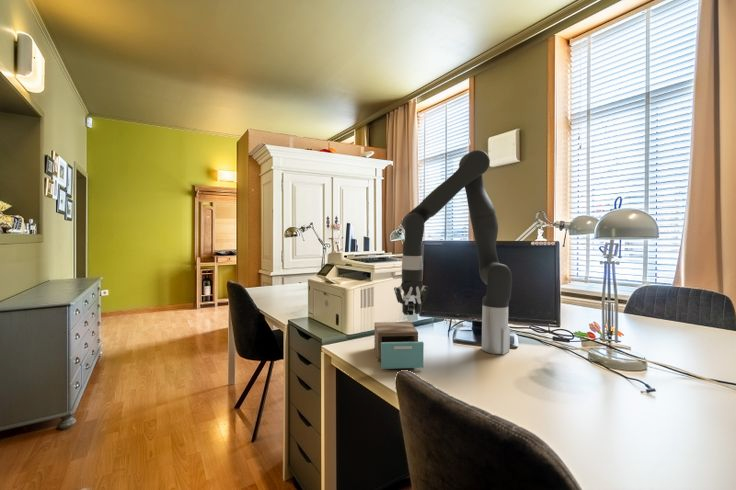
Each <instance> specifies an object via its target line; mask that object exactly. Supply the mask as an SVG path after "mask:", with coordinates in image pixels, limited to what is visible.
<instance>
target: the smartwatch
mask: <svg viewBox="0 0 736 490" xmlns="http://www.w3.org/2000/svg"><path fill="white" fill-rule="evenodd" d="M407 305H408V315H409V316H413V315H414V311H415V302H414V301H413V300H410V301H408V304H407ZM408 315H407V316H408Z"/></svg>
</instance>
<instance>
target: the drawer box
mask: <svg viewBox="0 0 736 490" xmlns="http://www.w3.org/2000/svg"><path fill="white" fill-rule="evenodd" d="M381 342H419V331H418V330H417V329H416V327H415V326H414V324H413V323H412V321H395V322H394V321H392V322H391V321H389V322H388V321H387V322H383V321H379V322H374V342H373V343H374V346H373V347H374V351H375V355H376V358H377V359H378V360H377V359H376V360H377V362H378V361H380V362H381Z"/></svg>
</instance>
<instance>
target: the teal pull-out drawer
mask: <svg viewBox="0 0 736 490" xmlns="http://www.w3.org/2000/svg"><path fill="white" fill-rule="evenodd" d="M424 343H425V342H424V341H418V342H381V361H380V368H381V369H382V370H385V369H421V368H422V369H423V368H424Z"/></svg>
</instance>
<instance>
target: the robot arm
mask: <svg viewBox="0 0 736 490" xmlns="http://www.w3.org/2000/svg"><path fill="white" fill-rule="evenodd" d="M490 163H491V159H490V156H489V155H488V153H487V152H485V151H484V150H481V149H475V150H472V151H470V152H468V153H466V154H464V155H463V156H462V157H461V158H460V160H459V163H458V168H457V169H456V170H455V172H453V173H452V174H451V176H449V177H448V178H447V179H446V180H444V181H443V182H442V183H441V184H439V185H437V186H436V188H434V189H433V190H432V191H431V192H430V193H429V194H428V195H426V197H425V198H423V200H422V201H421V202H420V203H418V205H417V206H416V207H414V208H413V209H412V210H410V212H408V213H407V214H406V215H405V216H404V217H403V218H402V222H401V224H402V226H401V227H402V228H403V230H404V241H403V243H402V260H401V284H400V286H397V287H396V286H394V288H393V290H394V294H395V297H396V300H397V302H398V303H400V304H401V305H402V311H401V312H402V314H403V315H405V316H408V305H407V304H408V301H409V300H410V299H411V297H412V296H413V299H414V304H415V309H414V314H415V315H419V313H420V312H421V304H422V303H426V300H427V297H428V294H429V290H430V286H427V285H424V284H423V282H422V281H423V237H424V231H425V223H426V222H427V221H428V220H429V219H430V218H433V217H434V216H436V215H437V214H438V213H439V212H440V211H441V210H442V209H443V208H444V207H445V206H446V205H447V204H448V203H449V202H450V201H451V200H452V199H454V197H455V196H457V194H458V193H460V191H462V190H463V189H464V190H465V194H466V199H467V201H466V202H467V206H468V210H469V217H470V218H469V219H470V222H471V227H472V228H471V229H472V234H473V238H474V241H475V247H476V252H477V256H478V259H477V260H478V269H479V277H480V279H481V281H482V282H483V283H484V284H485V285H486V294H485V296H483V297H482V301H481V302H482V306H481V307H482V314H481V315H482V316H481V350H482V351H484V352H486V353H488V354H492V355H501V356H502V355H503V356H504V355H506V354H507V353H508V352H509V351H510V347H511V346H510V343H511V342H510V339H511V334H510V333H511V326H510V325H509V302H510V300H511V296H512V284H513V278H512V277H513V276H512V272H511V269H510V268H509V267H508V266H507V265H506V264H503V263H500V261H499V257H498V252H497V241H498V240H497V239H498V232H499V223H498V219H497V212H496V209H495V206H494V204H493V202H492V200H491V198H490V197H489V195H488V193H487V190H486V187H485V184H484V178H483V174H485V173H486V172H487V171H488V169H489V167H490ZM402 291H403V293H402ZM420 291H421V292H420Z"/></svg>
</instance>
